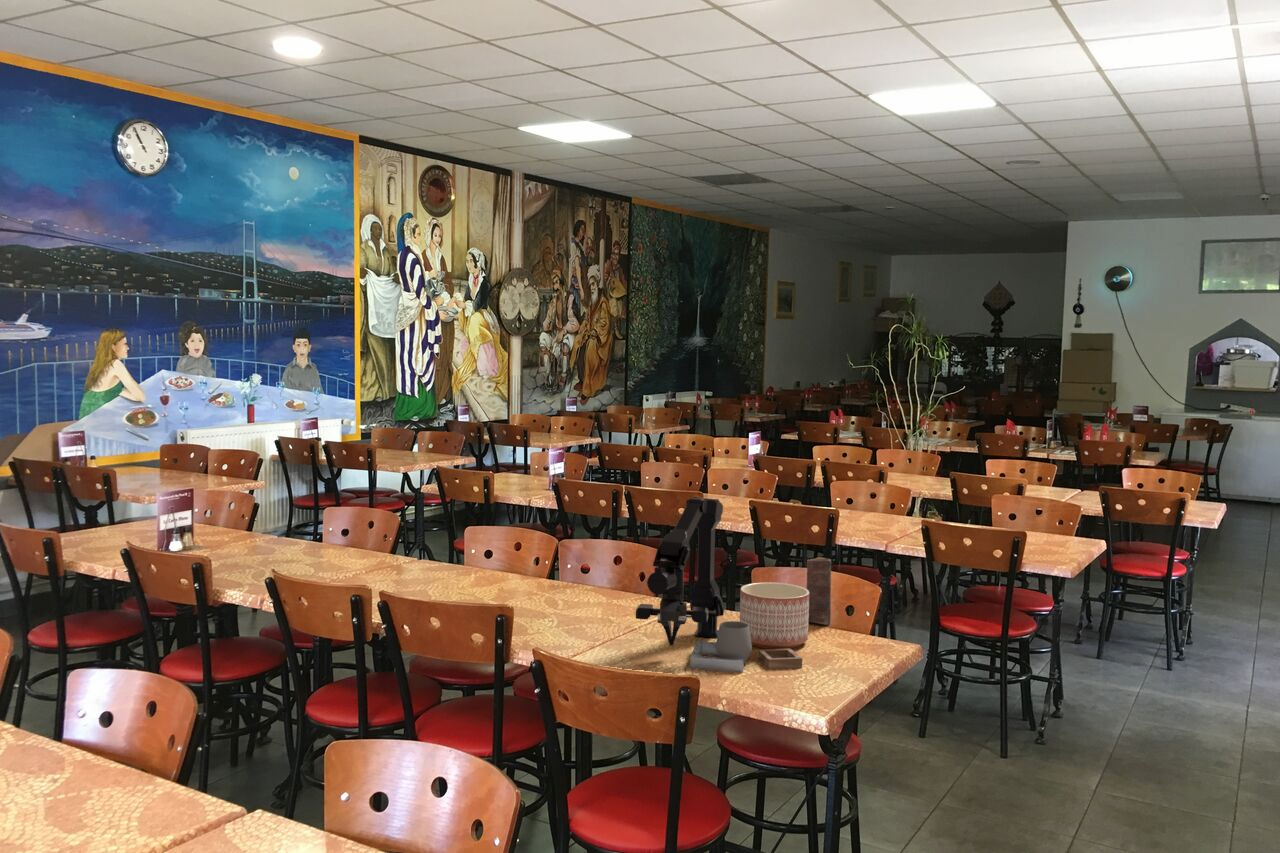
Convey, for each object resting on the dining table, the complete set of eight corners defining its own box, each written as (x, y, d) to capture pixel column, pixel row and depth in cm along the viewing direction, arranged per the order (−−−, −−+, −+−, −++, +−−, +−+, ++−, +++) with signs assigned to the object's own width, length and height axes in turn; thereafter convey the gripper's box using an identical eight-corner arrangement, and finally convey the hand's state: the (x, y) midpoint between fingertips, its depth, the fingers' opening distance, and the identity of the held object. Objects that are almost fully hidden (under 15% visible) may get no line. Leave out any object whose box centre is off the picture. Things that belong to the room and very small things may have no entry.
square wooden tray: (757, 658, 264) (758, 649, 264) (790, 657, 266) (790, 648, 265) (768, 669, 255) (769, 659, 255) (802, 667, 257) (802, 658, 257)
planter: (732, 646, 274) (733, 594, 273) (747, 629, 292) (748, 580, 291) (801, 654, 268) (803, 600, 267) (812, 636, 286) (814, 586, 285)
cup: (708, 659, 262) (709, 622, 262) (739, 655, 266) (740, 618, 266) (726, 669, 254) (727, 631, 253) (758, 665, 258) (759, 627, 257)
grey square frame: (690, 668, 254) (690, 657, 254) (696, 652, 269) (696, 641, 269) (743, 672, 252) (743, 660, 252) (746, 655, 267) (746, 644, 266)
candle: (811, 627, 297) (813, 560, 295) (801, 620, 304) (803, 556, 302) (834, 625, 299) (836, 560, 297) (823, 619, 306) (825, 555, 304)
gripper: (633, 591, 254) (631, 651, 255) (705, 595, 252) (704, 656, 253) (639, 582, 265) (638, 639, 266) (709, 586, 263) (707, 644, 264)
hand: (671, 645), depth 262 cm, fingers closed
